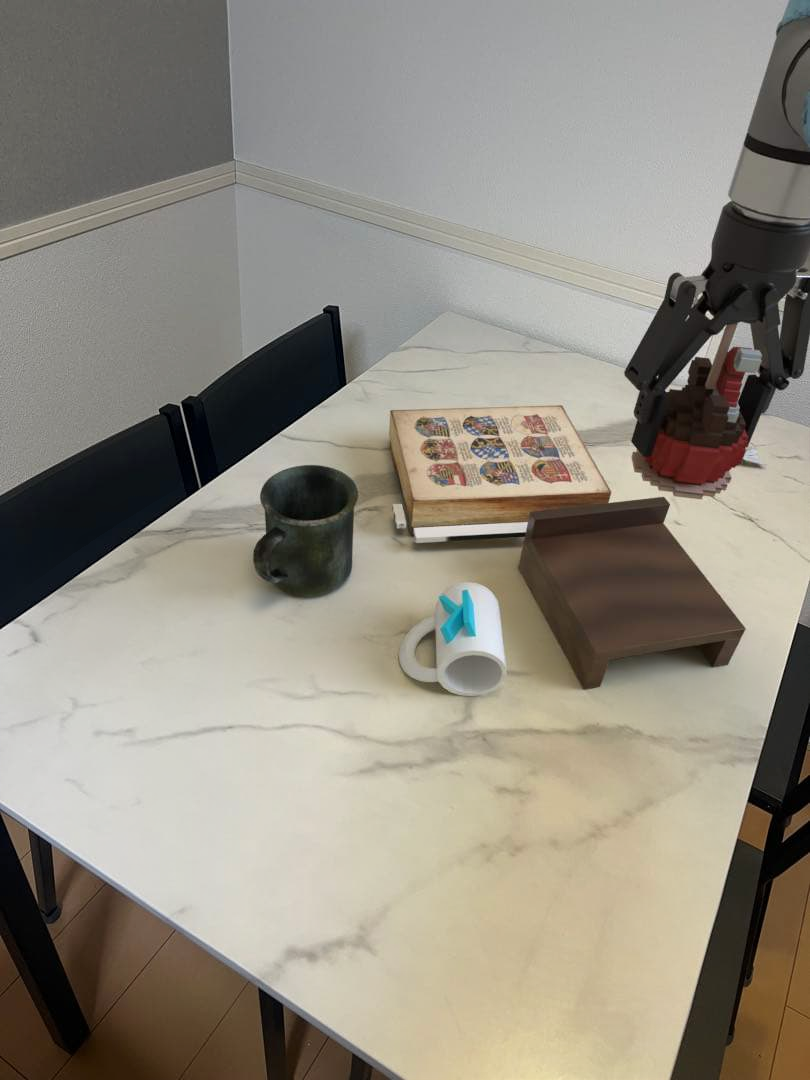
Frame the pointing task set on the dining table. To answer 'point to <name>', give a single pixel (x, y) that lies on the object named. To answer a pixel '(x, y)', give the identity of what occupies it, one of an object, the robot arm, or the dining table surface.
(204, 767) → the dining table surface
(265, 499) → the mug
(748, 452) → the flower
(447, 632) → the mug
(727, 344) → the cake
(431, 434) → the book
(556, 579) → the shelf
